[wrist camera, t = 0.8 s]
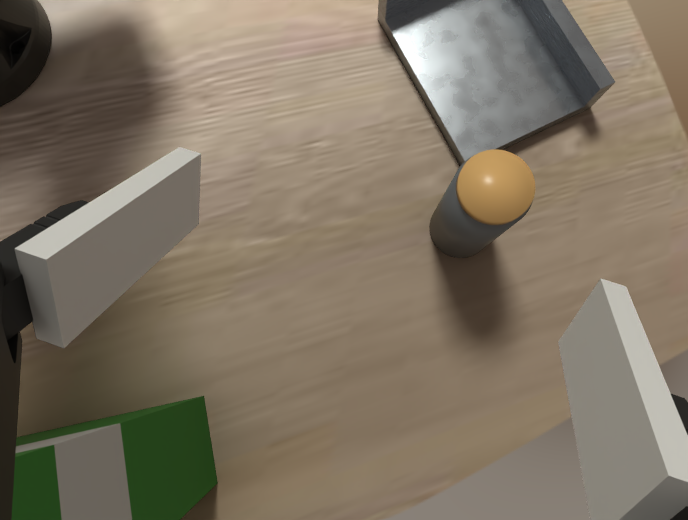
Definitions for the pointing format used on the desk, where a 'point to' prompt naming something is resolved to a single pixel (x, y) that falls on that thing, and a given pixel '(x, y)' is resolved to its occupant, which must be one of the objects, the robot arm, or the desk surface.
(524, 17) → the plate
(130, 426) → the hardback book
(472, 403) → the desk surface
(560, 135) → the desk surface
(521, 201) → the grey cylinder orange top
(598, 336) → the robot arm
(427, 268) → the desk surface
